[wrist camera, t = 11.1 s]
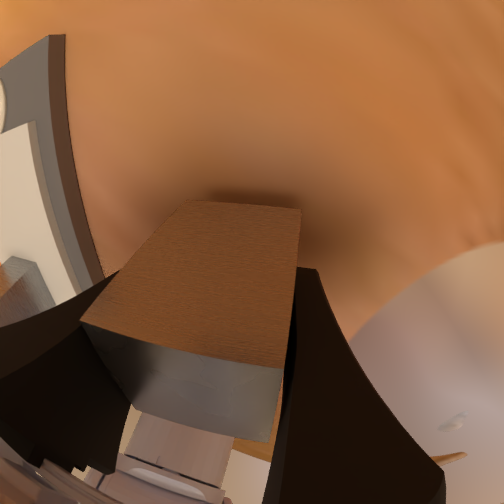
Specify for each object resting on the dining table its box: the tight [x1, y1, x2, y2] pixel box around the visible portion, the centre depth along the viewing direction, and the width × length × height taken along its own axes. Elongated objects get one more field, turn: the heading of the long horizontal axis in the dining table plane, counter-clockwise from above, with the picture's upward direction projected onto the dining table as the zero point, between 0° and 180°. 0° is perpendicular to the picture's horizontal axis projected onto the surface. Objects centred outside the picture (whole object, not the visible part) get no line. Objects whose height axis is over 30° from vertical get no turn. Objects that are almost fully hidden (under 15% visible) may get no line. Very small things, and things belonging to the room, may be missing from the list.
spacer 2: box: [79, 200, 302, 443], centre depth 8 cm, size 4×4×6 cm
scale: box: [0, 35, 105, 306], centre depth 14 cm, size 21×14×2 cm, turn 179°
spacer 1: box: [0, 256, 56, 327], centre depth 14 cm, size 4×4×6 cm
